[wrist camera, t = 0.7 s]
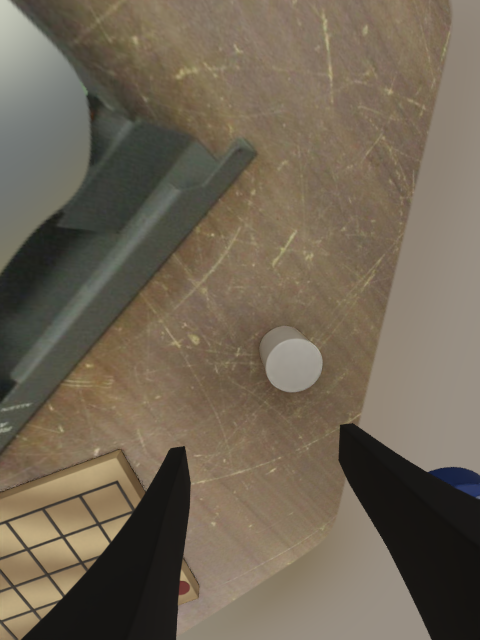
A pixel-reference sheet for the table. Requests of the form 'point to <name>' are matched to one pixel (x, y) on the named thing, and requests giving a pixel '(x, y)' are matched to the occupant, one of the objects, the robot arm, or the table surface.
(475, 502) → the robot arm
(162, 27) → the table surface
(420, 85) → the table surface
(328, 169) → the table surface
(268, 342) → the grey short cylinder
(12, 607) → the board
